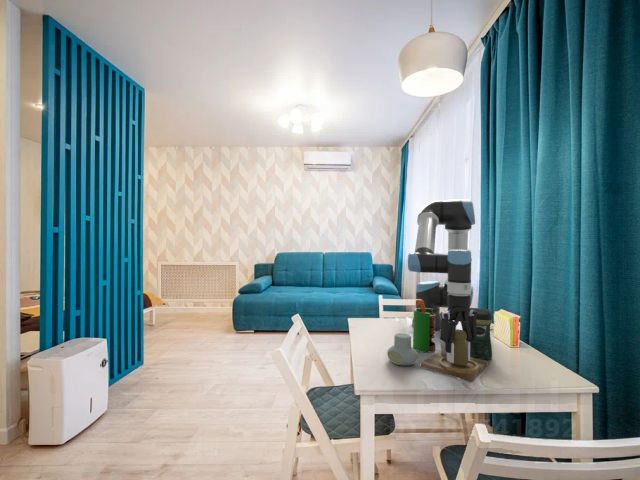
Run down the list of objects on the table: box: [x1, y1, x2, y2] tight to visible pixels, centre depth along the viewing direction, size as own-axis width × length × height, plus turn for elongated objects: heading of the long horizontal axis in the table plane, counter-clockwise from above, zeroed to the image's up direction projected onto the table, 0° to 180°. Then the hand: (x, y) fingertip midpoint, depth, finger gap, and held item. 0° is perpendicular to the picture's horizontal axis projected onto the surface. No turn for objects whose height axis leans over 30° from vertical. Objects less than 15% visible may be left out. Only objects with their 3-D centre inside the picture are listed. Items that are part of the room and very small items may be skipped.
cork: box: [452, 328, 468, 365], centre depth 111 cm, size 6×6×11 cm
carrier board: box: [420, 340, 489, 383], centre depth 113 cm, size 18×17×8 cm
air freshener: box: [386, 332, 419, 367], centre depth 116 cm, size 11×8×10 cm
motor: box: [412, 298, 437, 353], centre depth 132 cm, size 10×9×20 cm
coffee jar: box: [470, 307, 493, 361], centre depth 123 cm, size 10×8×19 cm
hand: (458, 360), depth 111 cm, fingers closed on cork, 6 cm apart
